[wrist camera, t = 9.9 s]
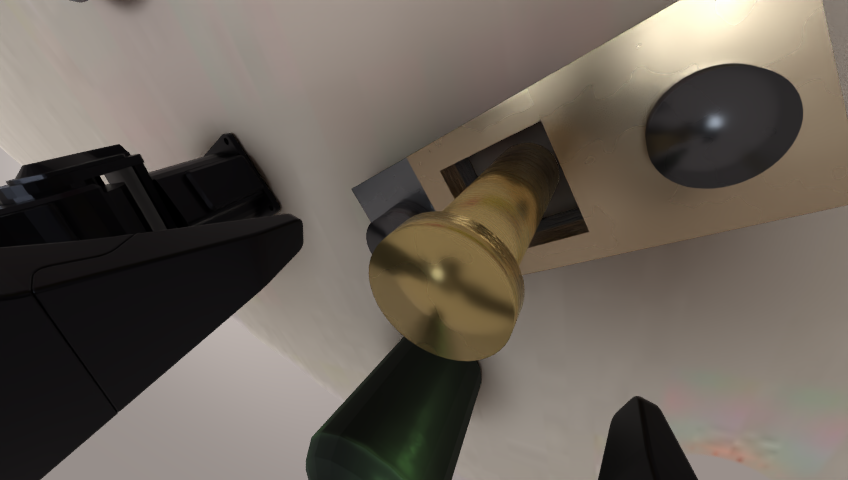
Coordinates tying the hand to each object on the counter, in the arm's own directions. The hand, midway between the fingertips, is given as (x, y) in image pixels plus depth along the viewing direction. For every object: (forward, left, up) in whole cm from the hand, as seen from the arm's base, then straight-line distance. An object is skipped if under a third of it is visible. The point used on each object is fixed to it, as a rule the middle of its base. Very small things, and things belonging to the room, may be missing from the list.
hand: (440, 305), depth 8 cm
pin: (0, 0, -10) cm, 10 cm away
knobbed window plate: (0, 0, -10) cm, 10 cm away
